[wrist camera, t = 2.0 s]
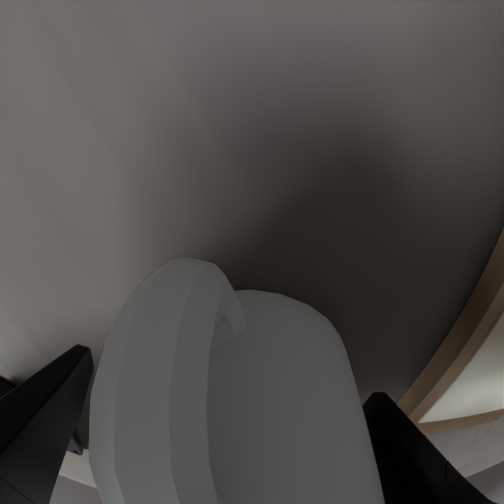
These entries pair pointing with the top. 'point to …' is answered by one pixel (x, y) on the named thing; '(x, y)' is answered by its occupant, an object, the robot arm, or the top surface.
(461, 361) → the wooden picture frame
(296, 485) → the cup
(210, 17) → the top surface
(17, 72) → the top surface
